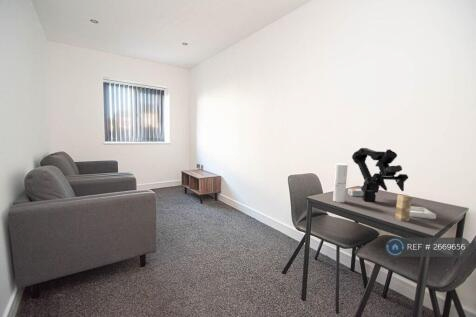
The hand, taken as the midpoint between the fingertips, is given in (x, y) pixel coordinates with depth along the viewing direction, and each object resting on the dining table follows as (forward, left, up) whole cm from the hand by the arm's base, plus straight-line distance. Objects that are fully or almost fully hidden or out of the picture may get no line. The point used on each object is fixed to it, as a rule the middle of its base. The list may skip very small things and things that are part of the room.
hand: (394, 190), depth 128 cm
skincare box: (-16, +35, -11) cm, 40 cm away
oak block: (+2, -8, -14) cm, 16 cm away
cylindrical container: (-26, +16, -14) cm, 34 cm away
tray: (+14, +4, -14) cm, 20 cm away
